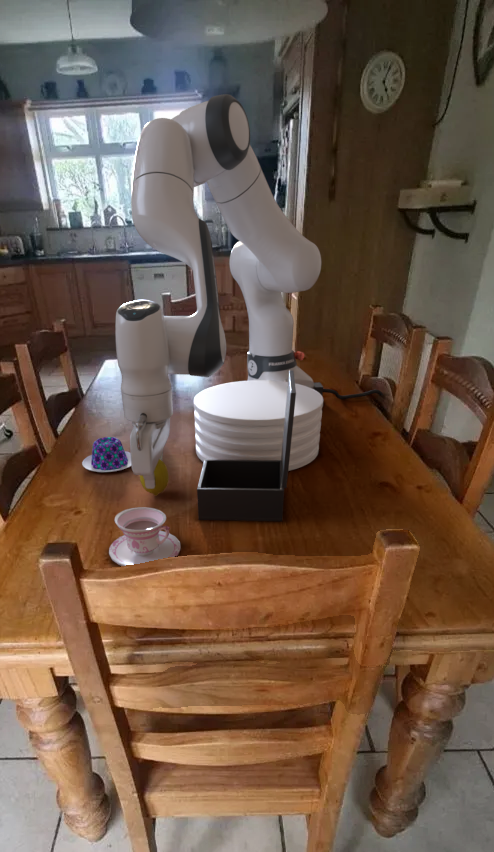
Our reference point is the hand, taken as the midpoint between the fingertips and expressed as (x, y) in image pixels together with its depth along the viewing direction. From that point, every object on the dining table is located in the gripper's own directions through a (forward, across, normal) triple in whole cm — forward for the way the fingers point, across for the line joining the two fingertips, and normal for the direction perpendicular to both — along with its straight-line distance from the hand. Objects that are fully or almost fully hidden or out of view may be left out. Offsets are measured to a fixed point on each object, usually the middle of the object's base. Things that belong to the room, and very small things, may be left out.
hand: (154, 477), depth 106 cm
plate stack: (+4, +24, -19) cm, 31 cm away
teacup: (+4, -21, -2) cm, 21 cm away
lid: (-11, -3, -25) cm, 27 cm away
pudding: (+4, +15, +13) cm, 20 cm away
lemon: (+4, 0, 0) cm, 4 cm away
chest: (+4, -3, -17) cm, 18 cm away
